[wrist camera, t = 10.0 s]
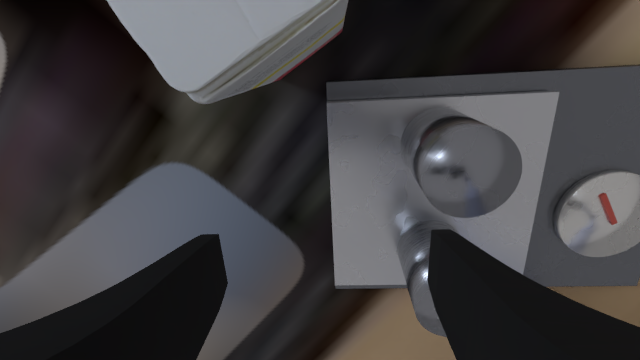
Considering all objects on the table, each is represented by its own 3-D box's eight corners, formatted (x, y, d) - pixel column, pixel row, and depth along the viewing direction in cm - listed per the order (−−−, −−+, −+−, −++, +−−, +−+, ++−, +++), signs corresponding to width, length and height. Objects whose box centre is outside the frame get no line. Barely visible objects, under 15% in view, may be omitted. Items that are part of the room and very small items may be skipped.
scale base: (624, 276, 23) (647, 293, 21) (335, 279, 24) (335, 296, 22) (695, 61, 18) (733, 62, 16) (326, 81, 19) (325, 83, 17)
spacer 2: (470, 176, 19) (514, 216, 14) (399, 178, 19) (419, 219, 14) (478, 105, 17) (530, 123, 13) (401, 109, 18) (424, 128, 13)
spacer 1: (457, 275, 21) (492, 338, 16) (395, 274, 21) (411, 336, 17) (466, 220, 20) (506, 272, 15) (399, 220, 20) (418, 270, 15)
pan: (515, 276, 22) (521, 283, 21) (335, 278, 23) (335, 285, 22) (551, 90, 17) (559, 91, 17) (327, 101, 18) (326, 103, 18)
